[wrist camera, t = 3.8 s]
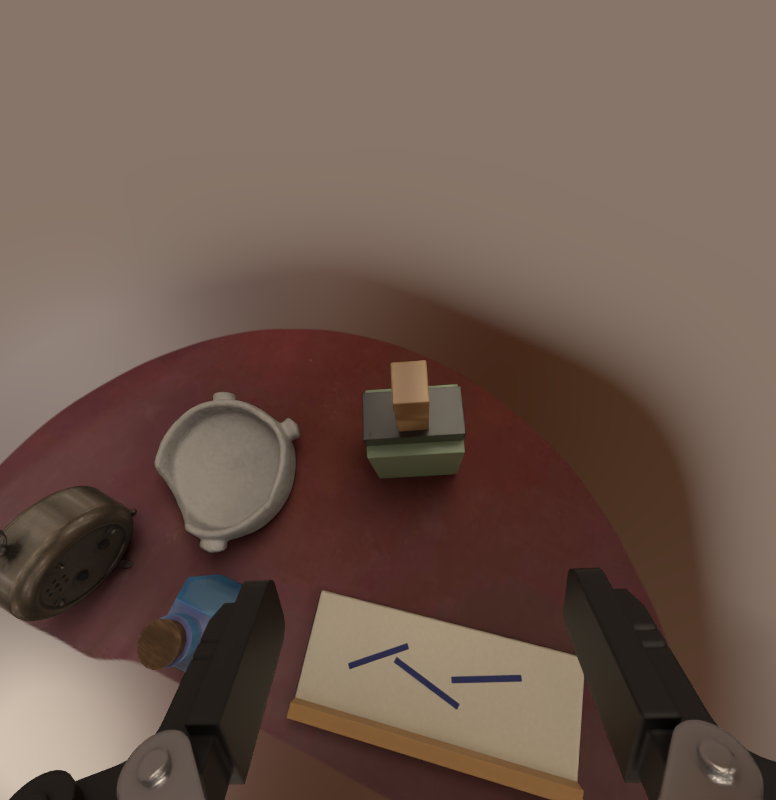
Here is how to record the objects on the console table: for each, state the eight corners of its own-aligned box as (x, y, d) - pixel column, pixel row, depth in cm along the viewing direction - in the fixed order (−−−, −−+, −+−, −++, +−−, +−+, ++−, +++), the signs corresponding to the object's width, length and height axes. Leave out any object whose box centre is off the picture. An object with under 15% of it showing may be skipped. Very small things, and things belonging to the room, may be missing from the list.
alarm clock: (131, 493, 46) (-13, 463, 31) (169, 517, 45) (38, 498, 30) (63, 590, 43) (-133, 610, 28) (102, 619, 42) (-81, 655, 27)
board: (582, 656, 38) (591, 662, 36) (573, 794, 35) (582, 810, 32) (323, 590, 41) (318, 591, 39) (293, 709, 38) (286, 718, 36)
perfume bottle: (274, 600, 41) (217, 617, 30) (244, 668, 40) (172, 713, 28) (220, 574, 43) (146, 581, 31) (188, 638, 41) (98, 670, 30)
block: (451, 418, 46) (457, 383, 37) (456, 474, 44) (465, 452, 35) (377, 423, 47) (365, 390, 37) (379, 478, 45) (366, 458, 35)
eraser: (459, 394, 36) (467, 349, 28) (463, 440, 35) (474, 406, 27) (365, 401, 37) (348, 358, 29) (366, 446, 36) (349, 414, 28)
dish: (240, 568, 43) (217, 570, 38) (150, 485, 46) (119, 477, 42) (332, 452, 46) (321, 441, 41) (241, 383, 50) (221, 365, 45)
